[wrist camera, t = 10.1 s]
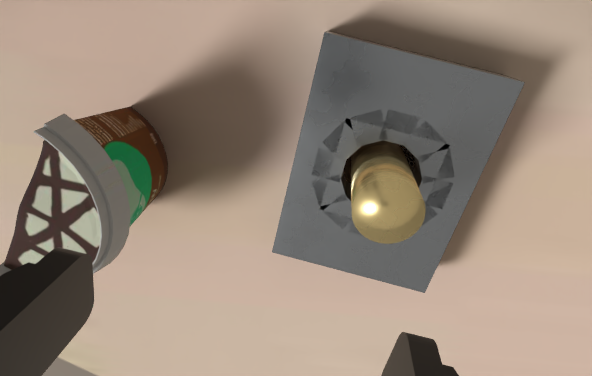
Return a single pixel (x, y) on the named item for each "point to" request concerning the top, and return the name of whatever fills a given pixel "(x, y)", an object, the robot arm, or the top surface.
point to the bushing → (384, 194)
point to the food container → (88, 187)
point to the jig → (397, 129)
